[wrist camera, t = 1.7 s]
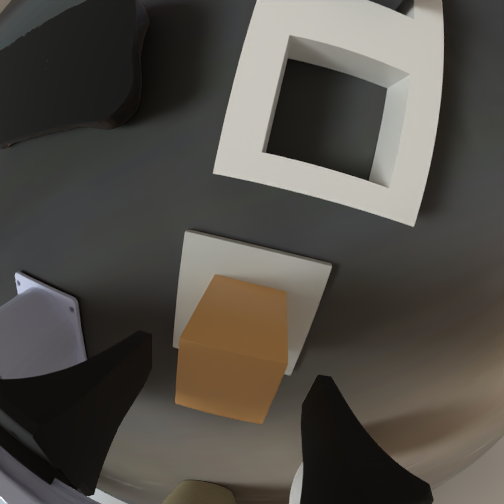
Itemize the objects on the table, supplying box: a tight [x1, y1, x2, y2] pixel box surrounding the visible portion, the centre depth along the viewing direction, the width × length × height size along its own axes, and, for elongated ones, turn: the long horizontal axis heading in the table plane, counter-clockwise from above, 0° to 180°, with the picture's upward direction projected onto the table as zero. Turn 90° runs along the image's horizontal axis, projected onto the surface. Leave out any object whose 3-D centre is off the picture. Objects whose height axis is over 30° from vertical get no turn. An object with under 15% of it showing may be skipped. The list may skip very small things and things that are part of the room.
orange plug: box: [175, 274, 288, 424], centre depth 13 cm, size 4×4×6 cm
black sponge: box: [0, 0, 150, 149], centre depth 11 cm, size 16×8×4 cm, turn 86°
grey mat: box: [173, 229, 332, 375], centre depth 16 cm, size 8×8×1 cm
